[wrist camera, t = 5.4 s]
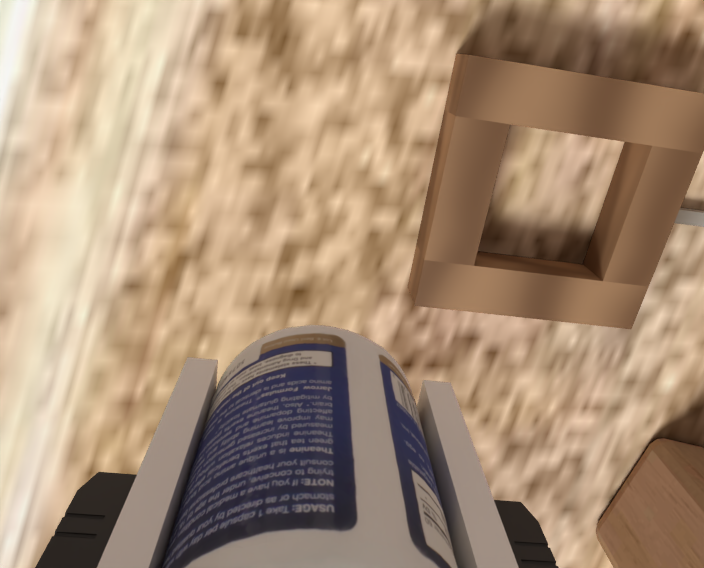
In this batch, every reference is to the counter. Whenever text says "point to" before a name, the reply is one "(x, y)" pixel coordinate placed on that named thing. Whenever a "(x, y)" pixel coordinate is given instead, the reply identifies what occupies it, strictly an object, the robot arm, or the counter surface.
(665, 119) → the brown square frame
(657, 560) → the wooden block
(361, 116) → the counter surface
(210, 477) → the pill bottle
